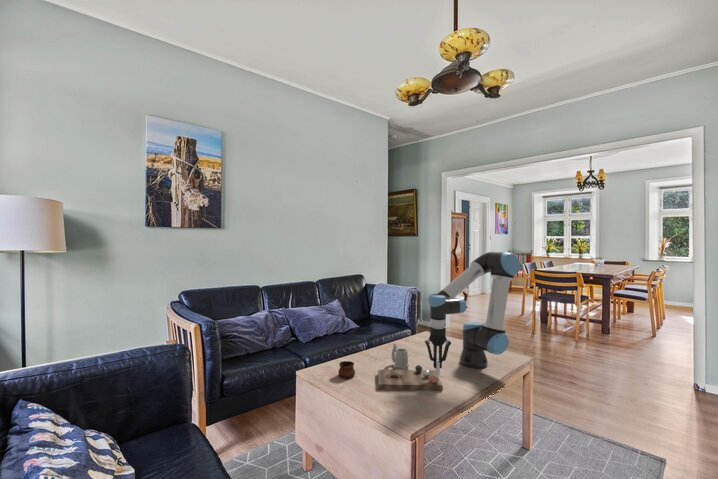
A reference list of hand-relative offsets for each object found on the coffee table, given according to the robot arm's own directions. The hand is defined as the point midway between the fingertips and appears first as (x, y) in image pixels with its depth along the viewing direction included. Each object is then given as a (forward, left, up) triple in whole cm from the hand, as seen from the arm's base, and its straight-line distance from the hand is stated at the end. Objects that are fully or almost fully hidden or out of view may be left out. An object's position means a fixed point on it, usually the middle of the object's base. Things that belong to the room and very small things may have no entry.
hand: (437, 374), depth 170 cm
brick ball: (+3, +6, 0) cm, 7 cm away
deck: (+14, 0, -4) cm, 15 cm away
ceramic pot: (+46, -7, -5) cm, 46 cm away
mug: (+17, -20, -4) cm, 27 cm away
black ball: (+8, -7, 0) cm, 11 cm away
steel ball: (+5, 0, 0) cm, 5 cm away
